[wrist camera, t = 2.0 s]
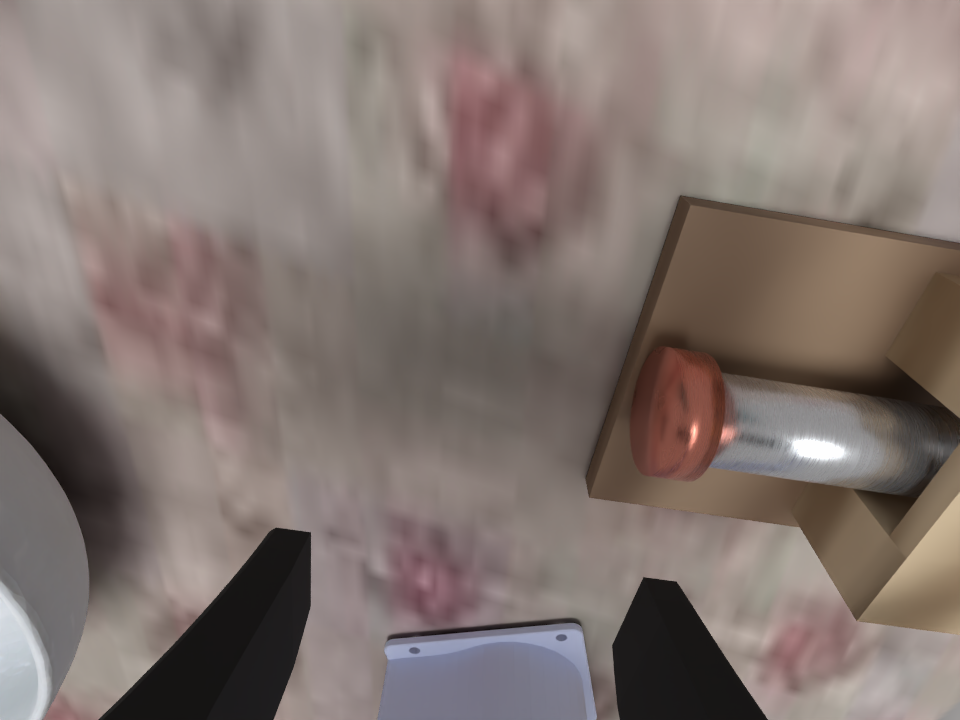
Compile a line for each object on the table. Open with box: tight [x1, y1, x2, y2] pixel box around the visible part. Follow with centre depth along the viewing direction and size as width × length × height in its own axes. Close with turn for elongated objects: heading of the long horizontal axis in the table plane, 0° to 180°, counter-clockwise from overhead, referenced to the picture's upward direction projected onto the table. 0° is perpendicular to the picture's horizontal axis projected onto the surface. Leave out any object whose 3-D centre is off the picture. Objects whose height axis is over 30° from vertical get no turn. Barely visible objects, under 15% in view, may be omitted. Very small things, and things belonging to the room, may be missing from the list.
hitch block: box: [586, 196, 960, 635], centre depth 17 cm, size 15×11×6 cm
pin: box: [630, 346, 960, 498], centre depth 17 cm, size 10×4×4 cm, turn 81°
